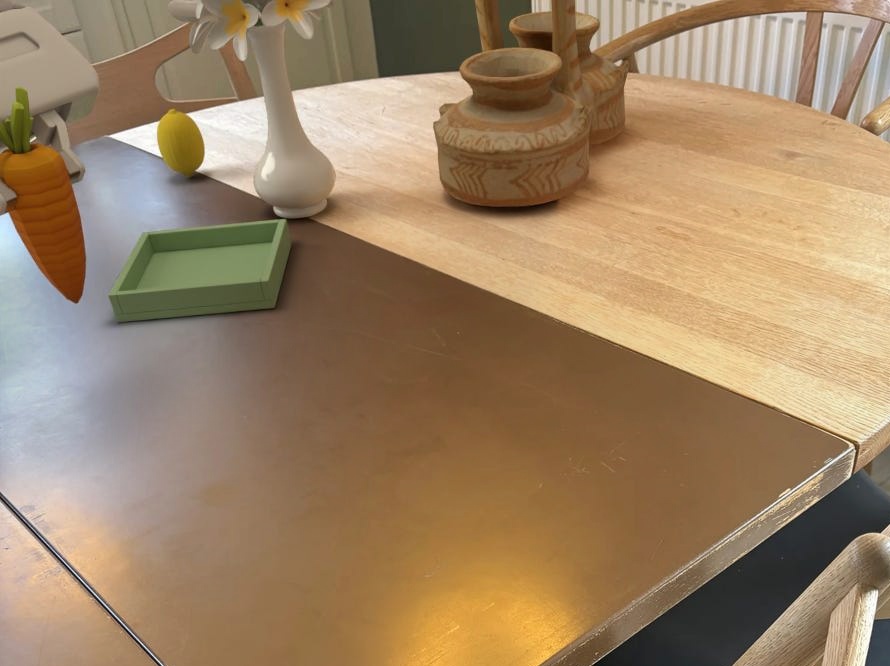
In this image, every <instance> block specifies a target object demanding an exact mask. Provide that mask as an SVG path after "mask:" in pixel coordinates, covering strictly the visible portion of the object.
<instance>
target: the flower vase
mask: <svg viewBox="0 0 890 666" xmlns="http://www.w3.org/2000/svg"><path fill="white" fill-rule="evenodd" d="M334 7H335V5H334V1H333V0H172V1H170V2H169V3H168V5H167V11H168V13H169V14H170V16H171V17H173V19H175V20H177V21H180V22H183V23H193V24H192V26H191V28H190V31H189V42H188V43H189V46H190V50H191V52H192V53H193V54H194V55H199V54H200V53H202V51H203V49H204V47H205V46H206V45H205V44H206V42H207V46H208V47H209V48H210V50H212V51H217V50H221V48H223V49H224V48H225V46H226V45H227V43H229V41H232V47H233V50H234V54H235V55H236V57H237V59H238V60H239V61H240V62H245V61H247V59H248V56H249V44H250V46H251V49H252V52H253V55H254V58H255V61H256V64H257V65H256V66H257V68H258V72H259V78H260V83H261V88H262V94H263V100H264V105H265V112H266V120H267V138H266V145H265V149H264V152H263V154H262V155H261V157H260V159H259V160H258V162H257V164H256V167H255V170H254V174H253V187H254V189H255V192H256V194H257V196H258V197H259V198H260V199H261V200H262V201H263V202H264V203H266V204H268V205H269V206H271V207H272V209H273V213H274V214H275V215H276V216H278V217H280V218H282V219H292V220H293V219H303V218H308V217H312V216H315V215H317V214H319V213H322V212H323V211H324V210H325V209H326V208H327V205H328V201H327V198H328V197H329V196H330V194H331V193H332V191H333V189H334V187H335V184H336V180H337V173H336V170H335V167H334V165H333V163H332V162H331V160H330V158H329V157H328V156H327V155H326V154H325V153H324V152H323V151H322V150H320V149H319V148H318V147H317V146H316V145H314V144H313V143H312V142H311V140H310V139H309V137H308V136H307V134H306V132H305V130H304V128H303V126H302V124H301V120H300V118H299V114H298V112H297V111H298V110H297V107H296V104H295V99H294V94H293V91H292V86H291V82H290V77H289V72H288V66H287V60H286V49H285V48H286V46H285V30H286V27H287V23H286V21H287V20H288V21H289V23H290V25H291V26H292V28H293V29H294V31H295V32H296V33H297V35H299V37H301V38H303V39H304V40H307V41H309V40H312V39H313V38H314V36H315V27H314V23H313V21H312V19H311V17H310V15H311V16H312V17H313V18H315V19H316V20H318V21H322V15H321V12H320V11H319V10H320V9H323V8H324V9H325V8H326V9H333V8H334ZM308 13H309V14H310V15H309V14H308ZM219 19H220V20H219ZM248 40H249V41H248ZM248 43H249V44H248Z"/></svg>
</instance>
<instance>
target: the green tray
mask: <svg viewBox="0 0 890 666" xmlns="http://www.w3.org/2000/svg"><path fill="white" fill-rule="evenodd" d="M291 247H292V239H291V235H290V231H289V225H288V221H287V218H282V219H269V220H258V221H249V222H238V223H237V222H236V223H226V224H216V225H206V226H195V227H185V228H184V227H183V228H175V229H173V228H172V229H164V230H163V229H162V230H153V231H152V230H151V231H144V232H143V231H142V233H141V235H140V236H139V238H138V240H137V242H136V244H135V245H134V248H133V249H132V251H131V253H130V254H129V257H128V259H126V262H125V264H124V266H123V268H122V269H121V271H120V273H119V274H118V277H117V278H116V280H115V282H114V284H113V286H112V288H111V290H110V291H109V293H108V299H109V302H110V305H111V308H112V310H113V314H114V315H115V319H116V322H117V323H124V322H125V323H126V322H136V321H137V322H138V321H146V320H157V319H168V318H169V319H170V318H178V317H179V318H180V317H190V316H201V315H202V316H203V315H214V314H224V313H235V312H244V311H257V310H267V309H275V307H276V304H277V300H278V296H279V293H280V289H281V286H282V281H283V277H284V275H285V270H286V266H287V262H288V259H289V255H290V251H291Z"/></svg>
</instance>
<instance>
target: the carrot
mask: <svg viewBox="0 0 890 666" xmlns="http://www.w3.org/2000/svg"><path fill="white" fill-rule="evenodd" d="M15 91H16V103H13V104H12V110H11V119H6V120H5V124H6V126H7V128H8V130H9V132H10V133H9V132H8V130H7V129H6V127H5V126H4V124H3V123H2V122H1V120H0V140H1V141H2V142H3V143H4V144H5V145H6V146H7V148H5V149H3V150H2V152H1V153H0V176H1V177H2V178H3V179H4V180H5V182H6V184H8V187H9V188H11V189H13V191H14V192H15V193H16V195H17V197H18V202H17V204H16V205H15V206H16V208H15V210H12V211H10V212H8V213H7V214H8V215H9V217H10V220H11V221H12V223H13V227H14V229H15V231H16V233H17V234H18V236H19V238H20V240H21V241H22V243H23V245H24V247H25V248H26V251H27V252H28V253H29V255H30V256H31V259H32V260H33V262H34V263H35V265H36V266H37V268H38V270H39V271H40V272H41V274H43V276H44V277H45V278H46V279H47V281H48V282H49V283H50V284H51V285H52V286H53V287H54V288H55V289H56V290H57V291H58V292H59V293H60V294H61V295H62V296H63V297H64V298H65V299H66V300H68V301H70V302H71V303H73V304H75V305H77V304H79V303H80V301H81V299H82V297H83V293H84V289H85V288H84V287H85V284H86V283H85V282H86V276H87V275H86V273H87V271H86V269H87V254H86V245H85V235H84V230H83V224H82V217H81V214H80V209H79V206H78V201H77V199H76V195H75V191H74V187H73V184H71V181H70V177H69V174H68V171H67V167H66V164H65V162H64V160H63V158H62V156H61V155H60V153H59V152H57V151H56V150H54V149H52V147H51V146H44V145H42V144H41V143H31V138H30V135H31V130H32V124H33V118H32V117H30V115H29V101H28V94H27V91H26V90H25V89H23V88H22V87H16V88H15ZM10 134H11V135H10ZM11 136H12V137H11Z"/></svg>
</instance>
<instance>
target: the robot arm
mask: <svg viewBox="0 0 890 666" xmlns="http://www.w3.org/2000/svg"><path fill="white" fill-rule="evenodd" d="M100 86H101V85H100V77H99V74H98V72H97V70H96V69H95V68H94V66H93V65H92V64H91V63H90V61H88V60H87V59H86V57H85V56H83V54H82V53H80V51H79V50H78V49H77V48H76V47H75V46H74V45H73V44H72V43H71V42H70V41H69V40H68V39H66V37H65V36H63V35H62V34H61V32H59V30H57V29H56V28H55V27H54V26H53V25H52V24H51V23H49V22H48V21H47V20H46V19H45V18H44V17H42V16H41V14H40V13H38V11H37V10H36V9H34V8H33V7H31V6H25V5H22V4H20V3H13V2H12V1H11V0H0V120H1V122H2V123H3V124H4V126H5V127H6V129H7V130H8V128H7V126H6V124H5V120H6V119H11V110H12V104H13V103H16V91H15V88H16V87H22V88H23V89H25V90H26V91H27V94H28V101H29V115H30V117H32V118H33V124H32V130H31V135H30V139H33V138H36V140H38V142H39V143H40V144H42V145H44V146H47V147H49V145H50V148H52V149H54V150H56V151H57V152H59V153H60V155H61V156H62V158H63V160H64V162H65V164H66V167H67V171H68V174H69V177H70V181H71V184H72V185H74V184H78V183H79V182H82V181H83V179H84V176H85V174H86V167H85V164H83V162H82V161H81V160H80V159H79V157H78V156H77V155H76V154H75V153H74V151H73V150H72V149H71V148H72V147H71V142H70V137H69V134H68V129H67V126H66V125H68V124H71V123H73V122H76V121H80V120H81V119H84V118H87V117H88V116H90V115H91V114H92V112H93V110H94V108H95V105H96V102H97V100H98V96H99V94H100V90H101V89H100V88H101V87H100ZM8 132H9V130H8ZM9 133H10V132H9ZM10 135H11V134H10ZM11 137H12V136H11ZM5 149H8V147H7V146H6V145H5V144H4V143H3V142H2V141H1V140H0V151H1V150H5ZM17 202H18V197H17V195H16V193H15V192H14V191H13V189H11V188H9V187H8V184H6V182H5V180H4V179H3V178H2V177H1V176H0V217H1V216H4V215H5V214H9V213H8V212H10V211H12V210H15V208H16V206H15V205H16V204H17Z"/></svg>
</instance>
